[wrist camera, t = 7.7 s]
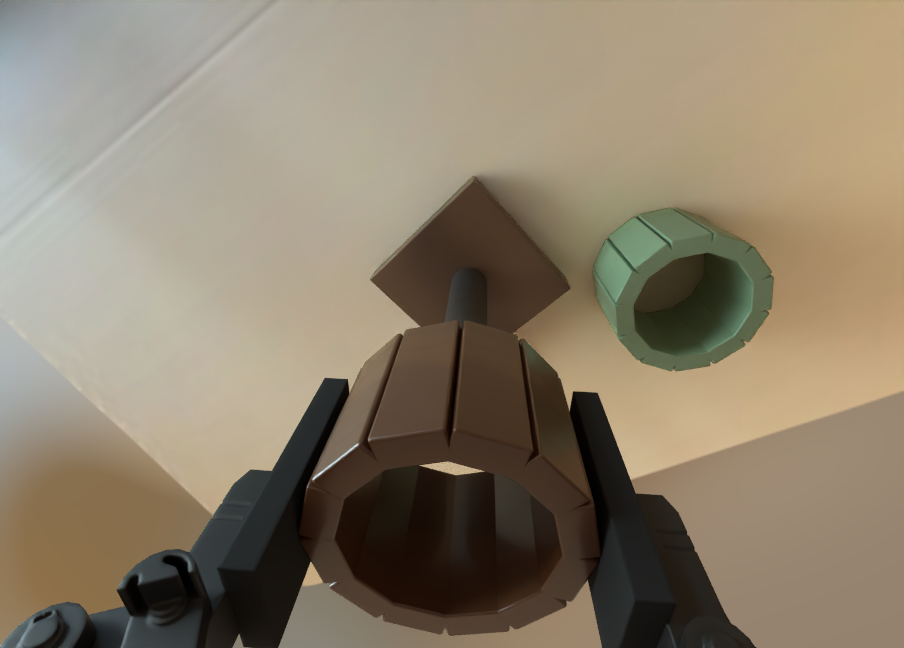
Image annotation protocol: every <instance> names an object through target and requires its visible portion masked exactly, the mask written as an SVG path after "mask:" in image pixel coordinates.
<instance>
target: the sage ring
mask: <svg viewBox="0 0 904 648" xmlns="http://www.w3.org/2000/svg"><path fill="white" fill-rule="evenodd" d="M608 238H609V239H610V240H611V241H609V240H605V242H604V244H603V246H602V249H601V251H600V253H599V255H598V257H597V259H596V261H595V264H594V266H593V267H594V269H595V270H593V279H594V288H595V296H596V297H597V300H598V302H599V304H600V306H601V308H602V310H603V311H604V313H605V315H606V317H607V319H608V321H609V322H610V324H611V326H612V328H613V330H614V332H615V333H616V335H617V337H618V339H619V340H620V341H621V343H622V344H623V345H624V346H625V347H626V348H627V349H628V350H629V352H630V353H631V354H632V355H633V356H634V357H635V358H636V359H637V360H640V362H641V363H644V364H648V365H651V366H654V367H658V368H661V369H665V370H668V371H672V370H673V369H674V370H675V371H682V370H688V369H695V368H701V367H707V366H710V361H711V362H712V363H714V364H715V363H717V362H719V361H720V360H722V359H724V358H725V357H727V356H729V355H730V354H732V353H734V352H735V351H737V350H739V349H740V348H742V347H744V346H745V343H744V342H743V341H746V342H750V340H751V339H752V338H753V336H754V335H755V333H756V332H757V330H758V329H759V328H760V326H761V325H762V323H763V322H764V320H765V319H766V318H767V316H768V315H769V312H768V311H766V310H770V309H771V306H772V293H773V280H774V277H773V276H772V275H770V274H771V273H772V271H771V270H770V268H769V267H768V265H767V264H766V263H765V261H764V260H763V258H762V257H761V255H760V254H759V252H758V251H757V250H756V248H755V247H754V246H752V245H751V244H750V243H748V242H746V241H745V240H743V239H741V238H739V237H738V236H736V235H734V234H732V233H730V232H729V231H727V230H725V229H723V228H722V227H720V226H718V225H716V224H714V223H713V222H711V221H709V220H707V219H706V218H704V217H702V216H699V215H696V214H693V213H690V212H686V211H683V210H680V209H677V208H673V209H671V208H666V209H661V210H656V211H652V212H647V213H643V214H639V215H638V219H637V218H636V217H633V218H631V219H630V220H629V221H627V222H626V223H625V224H624V225H622V226H621V227H620V228H619V229H617V230H616V231H615V232H614V233H612V234H611V235H610V236H609V237H608ZM703 253H705V274H704V276H703V278H702V279H701V281H700V283H699V284H698V286H697V288H696V289H695V291H694V293H693V294H692V295H691V296H690V297H688V298H687V299H685V300H684V301H682V302H681V303H679V304H678V305H677V306H675V307H674V308H672V309H669V310H663V311H658V312H652V313H647V314H646V313H643V312H639V311H636V310H634V304H635V302H636V300H637V298H638V296H639V294H640V292H641V291H642V289H643V287H644V285H645V283H646V281H647V279H648V278H649V277H651V276H652V275H654V274H655V273H656V272H658V271H659V270H661V269H662V268H663V267H665V266H666V265H667V264H669V263H670V262H672V261H673V260H674V259H678V258H683V257H688V256H693V255H698V254H703Z"/></svg>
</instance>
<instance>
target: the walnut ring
mask: <svg viewBox="0 0 904 648" xmlns="http://www.w3.org/2000/svg"><path fill="white" fill-rule="evenodd" d="M446 461H449V462H452V463H456V464H460V465H464V466H467V467H471V468H475V469H479V470H482V471H485V472H478V473H470V474H463V475H452V474H449V473H445V472H441V471H437V470H434V469H430V468H426V467H422V466H419V465H425V464H432V463H439V462H446ZM298 534H299V535H301V537H300V543H301V544H302V546H303V548H304V550H305V551H306V553H307V555H308V557H309V558H310V560H311V562H312V564H313V565H314V567H315V569H316V571H317V572H318V574H319V576H320V578H321V579H322V581H323V583H330V586H329V587H330V589H332V590H333V591H335V592H336V593H338V594H339V595H341V596H343V597H344V598H345V599H347V600H349V601H350V602H352V603H353V604H355V605H357V606H358V607H359V608H361V609H363V610H364V611H366V612H367V613H369V614H370V615H372V616H373V617H376V618H377V617H379V616H381V615H383V620H384V621H385V622H389V623H393V624H398V625H402V626H407V627H410V628H414V629H419V630H423V631H427V632H431V633H435V634H442V633H443V631H444V629H445V628H446V630H447V633H448V635H450V636H454V635H467V634H482V633H496V632H507V631H509V628H510V627H509V625H510V626H511V627H513V628H514V629H519V628H521V627H523V626H526V625H528V624H530V623H532V622H534V621H537V620H539V619H541V618H543V617H545V616H547V615H549V614H552V613H554V612H556V611H558V610H560V609H563V608H565V607H566V606H567V604H566V601H569V602H570V601H573V600H574V598H575V597H576V595H577V594H578V592H579V591H580V590H581V588H582V587H583V585H584V584H585V582H586V581H587V580H588V578H589V577H590V575H591V574H592V572H593V571H594V569H595V568H596V567H597V565H598V564H599V557H600V556H601V555H602V551H601V544H600V538H599V531H598V524H597V517H596V511H595V505H594V501H593V497H592V494H591V490H590V486H589V483H588V479H587V475H586V471H585V468H584V464H583V460H582V457H581V453H580V449H579V446H578V442H577V438H576V434H575V431H574V427H573V423H572V420H571V416H570V412H569V409H568V405H567V401H566V397H565V394H564V390H563V386H562V383H561V379H560V378H558V374H557V372H556V371H555V370H554V369H553V368H552V367H551V366H550V365H549V364H548V363H547V362H546V361H545V360H544V359H543V358H542V357H541V356H540V355H539V354H538V353H537V352H536V351H535V350H534V349H533V348H532V347H531V346H530V345H529V344H528V343H527V342H526V341H525V340H524V339H521V340H520V341H518V336H517V335H515V334H512V333H509V332H505V331H502V330H498V329H495V328H491V327H488V326H484V325H481V324H477V323H474V322H471V321H467V320H465V321H464V322H463V325H462V328H461V327H460V324H459V322H458V320H455V321H450V322H444V323H439V324H434V325H429V326H424V327H418V328H413V329H408V330H406V331H405V333H404V336H403V335H402V334H397V335H396V336H395V337H394V338H393V339H392V340H390V341H389V342H388V343H387V344H386V345H385V346H384V347H382V348H381V349H380V350H379V351H378V352H377V353H376V354H374V355H373V356H372V357H371V358H370V359H369V360H368V361H366V362H365V364H364V366H363V368H361V370H360V372H359V374H358V376H357V378H356V381H355V383H354V385H353V387H352V389H351V391H350V394H349V396H348V398H347V400H346V402H345V404H344V407H343V409H342V411H341V413H340V415H339V418H338V420H337V422H336V424H335V426H334V428H333V431H332V433H331V435H330V437H329V439H328V441H327V444H326V446H325V448H324V450H323V452H322V454H321V457H320V459H319V461H318V463H317V465H316V467H315V470H314V472H313V474H312V476H311V478H310V480H309V483H308V485H307V488H306V493H305V498H304V503H303V509H302V514H301V519H300V524H299V530H298Z"/></svg>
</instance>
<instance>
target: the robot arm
mask: <svg viewBox="0 0 904 648" xmlns="http://www.w3.org/2000/svg"><path fill="white" fill-rule="evenodd" d="M348 396H349V385H348V379H333V378H325V379H324V380H323V382H322V384H321V386H320V387H319V389H318V391H317V393H316V394H315V396H314V398H313V400H312V402H311V403H310V405H309V407H308V409H307V410H306V412H305V414H304V416H303V417H302V419H301V421H300V423H299V424H298V426H297V428H296V430H295V431H294V433H293V435H292V437H291V438H290V440H289V442H288V444H287V445H286V447H285V449H284V451H283V452H282V454H281V456H280V458H279V460H278V461H277V463H276V465H275V467H274V468H273V470H272V471H263V470H250V471H249V472H247V473H246V474H245V475H244V476H243V477H241V478H240V479H239V480H238V481H237V482H235V483H234V484H233V486H232V487H231V489H230V490H229V492H228V493H227V495H226V497H225V498H224V500H223V503H222V504H220V506H219V507H218V509H217V510H216V512H215V513H214V517H213V519H211V520H210V521H209V523H208V524H207V526H206V527H205V529H204V531H203V532H202V534H201V535H200V537H199V538H198V540H197V541H196V543H195V544H194V546H193V547H192V549H191V551H190V552H186V551H183V550H180V549H175V550H165V551H162V552H159V553H156V554H154V555H151V556H149V557H148V558H146V559H145V560H143V561H141V562H140V563H138V564H137V565H136V566H135V567H134V568H133V569H132V570H131V571H130V572H129V573H128V574H127V575H126V576H125V577H124V578H123V580H122V582H121V584H120V585H119V587H118V589H117V592H118V593H119V595H120V597H121V599H122V601H123V603H124V605H125V606H124V607H120V608H116V609H111V610H107V611H103V612H99V613H95V614H91V615H88V614H87V612H86V611H85V610H84V608H83V607H82V606H81V605H80V604H77V603H71V602H65V603H61V604H56V605H52V606H50V607H48V608H46V609H43V610H41V611H39V612H37V613H35V614H34V615H32V616H31V617H30V618H28V619H27V620H26V621H24V622H23V623H21V624H20V625H19V626H18V627H17V628H16V629H15V630H14V631H13V632H12V633H11V634H10V635H9V636H8V638H7V639H6V640H5V641H4V642H3V644H2V645H1V646H0V648H232V647H233V645H234V643H235V641H236V638H237V636H238V634H240V637H241V640H242V643H243V646H244V647H250V648H278V646H279V644H280V641H281V639H282V636H283V633H284V631H285V628H286V625H287V623H288V620H289V617H290V615H291V612H292V610H293V607H294V604H295V602H296V599H297V596H298V593H299V591H300V588H301V586H302V583H303V580H304V578H305V575H306V572H307V570H308V567H309V564H310V562H311V560H310V558H309V557H308V555H307V553H306V551H305V550H304V548H303V546H302V544H301V543H300V537H301V535H299V534H298V530H299V524H300V519H301V514H302V509H303V503H304V498H305V493H306V488H307V485H308V483H309V480H310V478H311V476H312V474H313V472H314V470H315V467H316V465H317V463H318V461H319V459H320V457H321V454H322V452H323V450H324V448H325V446H326V444H327V441H328V439H329V437H330V435H331V433H332V431H333V428H334V426H335V424H336V422H337V420H338V418H339V415H340V413H341V411H342V409H343V407H344V404H345V402H346V400H347V398H348ZM570 416H571V420H572V423H573V427H574V431H575V434H576V438H577V442H578V446H579V449H580V453H581V457H582V460H583V464H584V468H585V471H586V475H587V479H588V483H589V486H590V490H591V494H592V497H593V501H594V505H595V511H596V517H597V524H598V531H599V538H600V544H601V551H602V555H601V556H600V557H599V564H598V565H597V567H596V568H595V569H594V571H593V572H592V574H591V575H590V577H589V578H588V582H589V587H590V592H591V597H592V601H593V605H594V611H595V615H596V620H597V625H598V629H599V634H600V639H601V643H602V648H756V647H755V646H754V645H753V643H752V642H751V640H750V639H749V638H748V637H747V636H746V635H745V634H744V633H742V632H741V631H740V630H739V629H738V628H737V627H736V626H734V625H732V624H731V623H730V621H729V619H728V618H727V616H726V614H725V612H724V610H723V608H722V606H721V604H720V602H719V600H718V598H717V596H716V593H715V591H714V589H713V587H712V585H711V582H710V580H709V578H708V576H707V574H706V571H705V570H704V567H703V565H702V563H701V561H700V559H699V556H698V554H697V553H696V552H695V550H694V546H693V543H692V541H691V539H690V537H689V536H688V535H687V531H686V529H685V526H684V524H683V522H682V520H681V518H680V516H679V513H678V512H677V511H676V510H675V509H674V507H673V506H672V505H671V504H670V503H669V502H668V501H667V500H666V499H665V498H664V497H663V496H662V495H649V494H636V493H635V491H634V488H633V485H632V483H631V480H630V477H629V475H628V472H627V469H626V467H625V464H624V461H623V459H622V456H621V454H620V451H619V448H618V446H617V443H616V440H615V438H614V435H613V432H612V430H611V427H610V424H609V422H608V419H607V416H606V414H605V411H604V409H603V406H602V403H601V401H600V398H599V395H598V393H592V392H574V391H573V396H572V401H571V407H570Z"/></svg>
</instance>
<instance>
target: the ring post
mask: <svg viewBox="0 0 904 648" xmlns="http://www.w3.org/2000/svg"><path fill="white" fill-rule="evenodd" d="M370 280H371V281H372V282H373V283H374V284H375V285H376V286H377V287H378V288H379V289H380V290H382V291H383V292H384V293H385V294H386V295H387V296H388V297H389V298H390V299H391V300H392V301H393V302H395V303H396V304H397V305H398V306H399V307H400V308H401V309H402V310H403V311H404V312H405V313H406V314H407V315H409V316H410V317H411V318H412V319H413V320H414V321H415V322H416V323H417V324H418V325H419V326H420V327H424V326H429V325H434V324H439V323H444V322H450V321H455V320H458V322H459V324H460V327H461V328H462V325H463V322H464V321H465V320H467V321H471V322H474V323H477V324H481V325H484V326H488V327H491V328H495V329H498V330H502V331H505V332H509V333H513V332H514V331H516V330H517V329H518V328H520V327H521V326H522V325H524V324H525V323H526V322H528V321H529V320H530V319H531V318H533V317H534V316H535V315H537V314H538V313H539V312H541V311H542V310H543V309H545V308H546V307H547V306H548V305H550V304H551V303H552V302H554V301H555V300H556V299H558V298H559V297H560V296H561V295H563V294H564V293H565V292H567V291H568V290H569V289H570V285H569V283H568V281H567V279H566V277H565V276H564V275H563V274H562V273H561V272H560V271H559V270H558V268H557V267H556V266H555V265H554V264H553V263H552V262H551V261H550V259H549V258H548V257H547V256H546V255H545V254H544V253H543V252H542V251H541V249H540V248H539V247H538V246H537V245H536V244H535V243H534V242H533V240H532V239H531V238H530V237H529V236H528V235H527V234H526V233H525V232H524V230H523V229H522V228H521V227H520V226H519V225H518V224H517V223H516V221H515V220H514V219H513V218H512V217H511V216H510V215H509V214H508V213H507V211H506V210H505V209H504V208H503V207H502V206H501V205H500V204H499V202H498V201H497V200H496V199H495V198H494V197H493V196H492V195H491V193H490V192H489V191H488V190H487V189H486V188H485V187H484V186H483V185H482V183H481V182H480V181H479V180H478V179H477V178H476V177H475V176H473V177H472V178H471V179H469V180H468V181H467V182H466V183H465V184H464V185H463V186H462V187H461V188H460V189H459V190H458V191H457V192H456V193H455V194H454V195H453V196H452V197H451V198H450V199H449V200H448V201H447V202H446V203H445V204H444V205H443V206H442V207H441V208H440V209H439V210H438V211H437V212H435V213H434V214H433V215H432V216H431V217H430V218H429V219H428V220H427V221H426V222H425V223H424V224H423V225H422V226H421V227H420V228H419V229H418V230H417V231H416V232H415V233H414V234H413V235H412V236H411V237H410V238H409V239H408V240H407V241H406V242H405V243H404V244H403V245H402V246H400V247H399V248H398V249H397V250H396V251H395V252H394V253H393V254H392V255H391V256H390V257H389V258H388V259H387V260H386V261H385V262H384V263H383V264H382V265H381V266H380V267H379V268H378V269H377V270H376V271H375V273H374V274H373V276H372V277H371V279H370Z"/></svg>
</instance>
